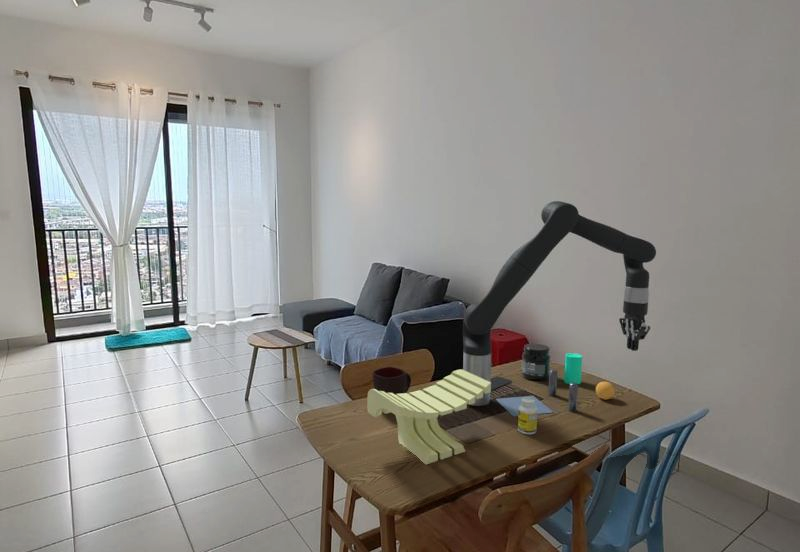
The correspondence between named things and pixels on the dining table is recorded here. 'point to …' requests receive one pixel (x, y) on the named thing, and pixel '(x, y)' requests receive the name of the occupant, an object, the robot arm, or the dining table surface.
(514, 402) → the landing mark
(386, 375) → the cup
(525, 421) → the supplement bottle
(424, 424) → the slatted curved stool
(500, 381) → the phone
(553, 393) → the far post
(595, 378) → the dining table surface
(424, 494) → the dining table surface
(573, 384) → the near post
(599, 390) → the ball
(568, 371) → the candle
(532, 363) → the supplement container
